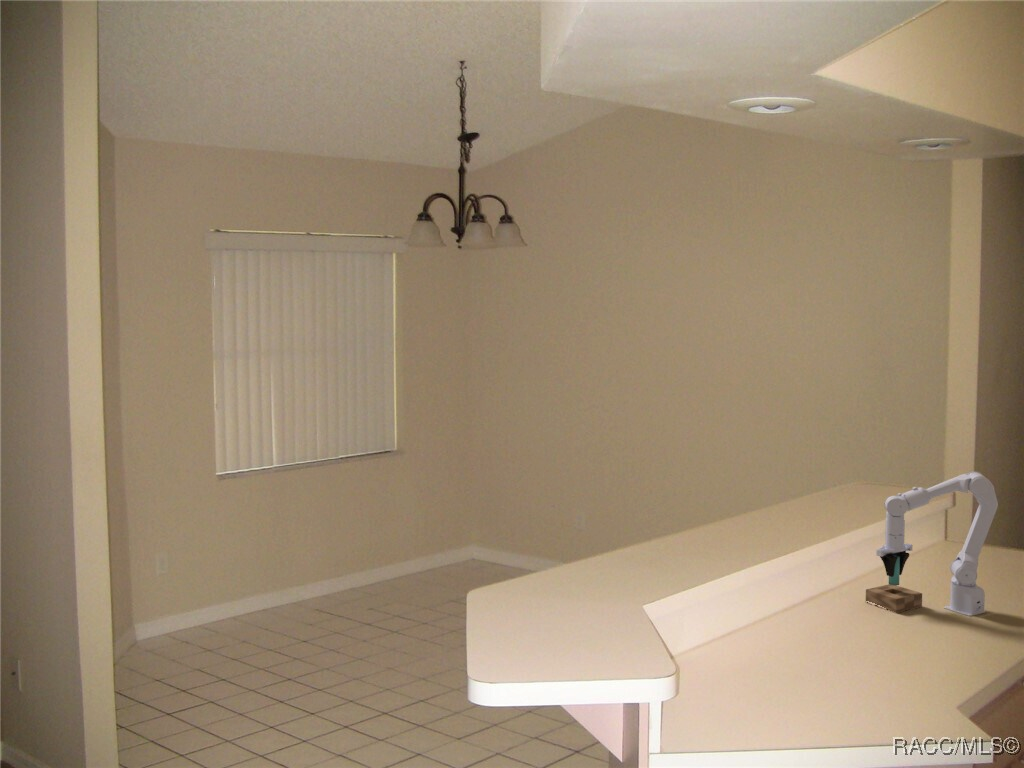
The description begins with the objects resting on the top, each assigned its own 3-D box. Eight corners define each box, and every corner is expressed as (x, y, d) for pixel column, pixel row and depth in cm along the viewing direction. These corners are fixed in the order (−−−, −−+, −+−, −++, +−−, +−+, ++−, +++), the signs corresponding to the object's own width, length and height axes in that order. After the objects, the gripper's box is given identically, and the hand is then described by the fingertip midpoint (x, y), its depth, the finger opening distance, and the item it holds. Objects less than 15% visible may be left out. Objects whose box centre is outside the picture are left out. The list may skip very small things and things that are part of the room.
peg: (901, 584, 303) (902, 557, 302) (894, 585, 301) (894, 558, 301) (893, 581, 306) (893, 554, 305) (886, 583, 304) (886, 556, 304)
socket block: (921, 607, 302) (922, 593, 301) (896, 613, 296) (896, 599, 296) (891, 597, 312) (891, 583, 312) (865, 602, 307) (865, 589, 306)
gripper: (900, 528, 309) (899, 568, 310) (869, 533, 302) (868, 575, 303) (918, 532, 303) (917, 574, 304) (887, 538, 296) (886, 580, 297)
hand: (894, 575), depth 303 cm, fingers closed on peg, 3 cm apart
